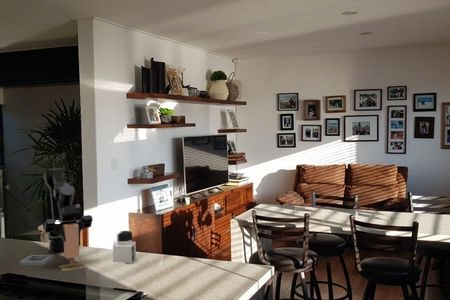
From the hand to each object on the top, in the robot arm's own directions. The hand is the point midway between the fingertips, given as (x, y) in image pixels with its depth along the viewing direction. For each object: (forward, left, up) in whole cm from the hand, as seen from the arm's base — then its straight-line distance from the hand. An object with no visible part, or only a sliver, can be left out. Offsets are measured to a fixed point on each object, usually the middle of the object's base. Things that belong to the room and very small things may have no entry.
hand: (72, 240), depth 184 cm
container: (-21, +8, -12) cm, 25 cm away
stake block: (-1, -1, -12) cm, 12 cm away
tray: (+4, -20, -12) cm, 24 cm away
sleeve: (-1, -1, -7) cm, 7 cm away
